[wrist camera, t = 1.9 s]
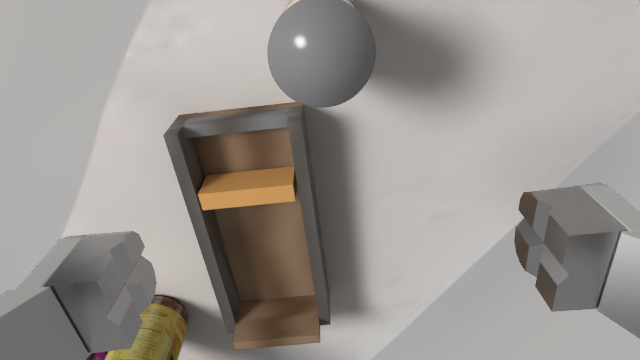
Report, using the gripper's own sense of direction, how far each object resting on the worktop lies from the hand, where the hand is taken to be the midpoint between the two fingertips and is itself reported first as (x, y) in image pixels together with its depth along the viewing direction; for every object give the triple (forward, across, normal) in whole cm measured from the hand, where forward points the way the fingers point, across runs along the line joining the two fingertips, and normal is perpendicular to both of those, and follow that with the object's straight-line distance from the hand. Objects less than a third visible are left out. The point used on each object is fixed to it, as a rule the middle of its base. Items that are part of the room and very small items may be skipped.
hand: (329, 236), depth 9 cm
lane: (+25, +7, +16) cm, 30 cm away
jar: (+25, 0, 0) cm, 25 cm away
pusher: (+23, +7, +11) cm, 27 cm away
